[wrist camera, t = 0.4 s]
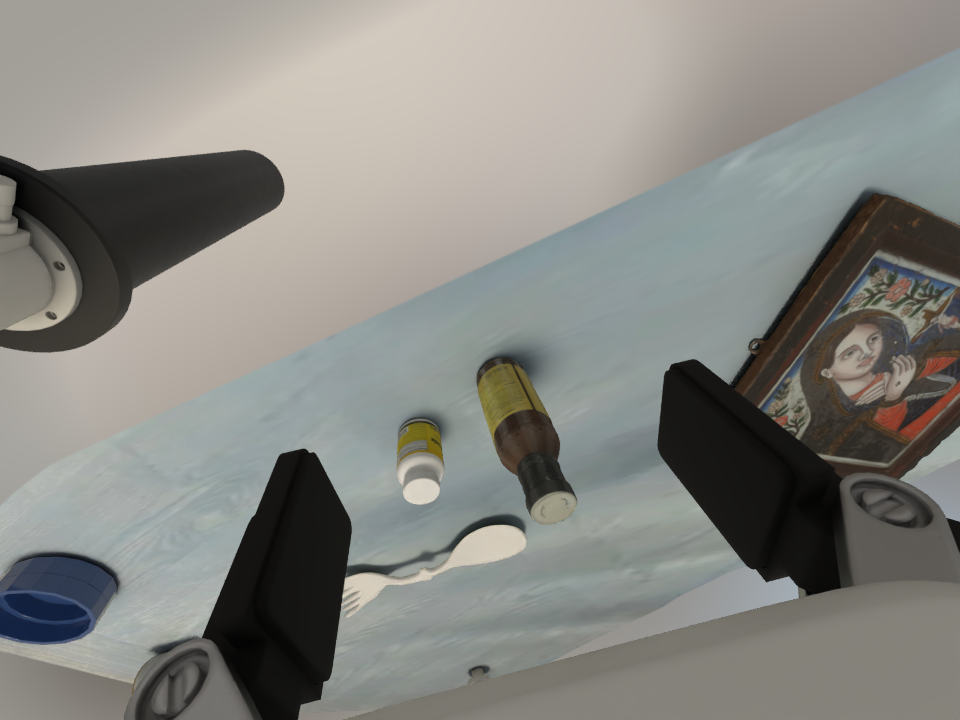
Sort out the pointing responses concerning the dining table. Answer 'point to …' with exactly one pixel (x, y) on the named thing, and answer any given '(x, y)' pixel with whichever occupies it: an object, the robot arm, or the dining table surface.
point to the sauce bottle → (525, 439)
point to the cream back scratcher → (469, 551)
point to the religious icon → (870, 345)
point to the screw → (477, 676)
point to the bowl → (53, 600)
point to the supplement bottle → (420, 461)
